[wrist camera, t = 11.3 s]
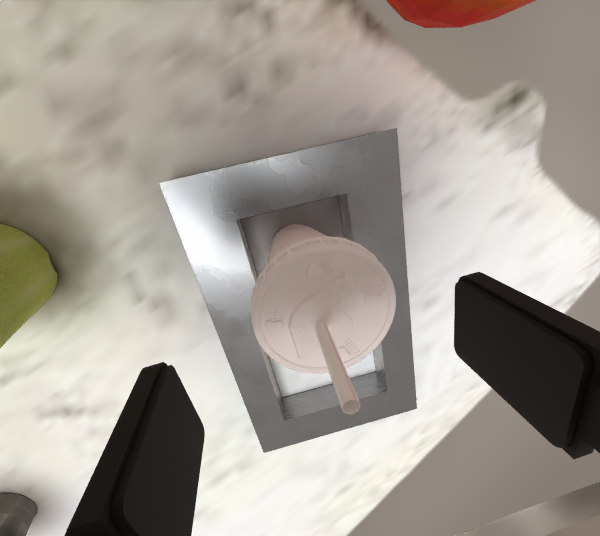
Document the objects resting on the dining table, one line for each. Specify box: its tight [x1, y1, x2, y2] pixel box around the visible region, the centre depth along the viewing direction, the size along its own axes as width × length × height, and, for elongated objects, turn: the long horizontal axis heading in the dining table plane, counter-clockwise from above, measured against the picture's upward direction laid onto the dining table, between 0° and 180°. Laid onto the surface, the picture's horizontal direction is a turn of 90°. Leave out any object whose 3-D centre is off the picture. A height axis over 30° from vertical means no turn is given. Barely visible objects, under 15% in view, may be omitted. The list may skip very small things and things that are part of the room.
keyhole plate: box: [159, 128, 417, 453], centre depth 22 cm, size 23×14×2 cm, turn 12°
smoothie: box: [251, 224, 396, 414], centre depth 15 cm, size 6×6×14 cm
